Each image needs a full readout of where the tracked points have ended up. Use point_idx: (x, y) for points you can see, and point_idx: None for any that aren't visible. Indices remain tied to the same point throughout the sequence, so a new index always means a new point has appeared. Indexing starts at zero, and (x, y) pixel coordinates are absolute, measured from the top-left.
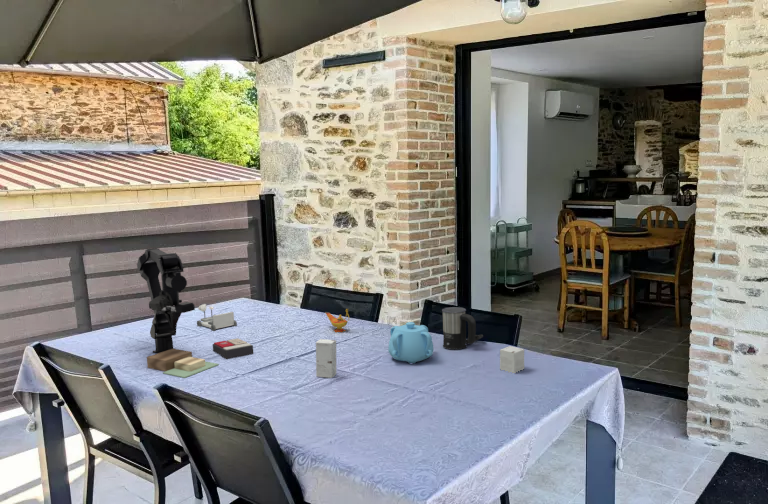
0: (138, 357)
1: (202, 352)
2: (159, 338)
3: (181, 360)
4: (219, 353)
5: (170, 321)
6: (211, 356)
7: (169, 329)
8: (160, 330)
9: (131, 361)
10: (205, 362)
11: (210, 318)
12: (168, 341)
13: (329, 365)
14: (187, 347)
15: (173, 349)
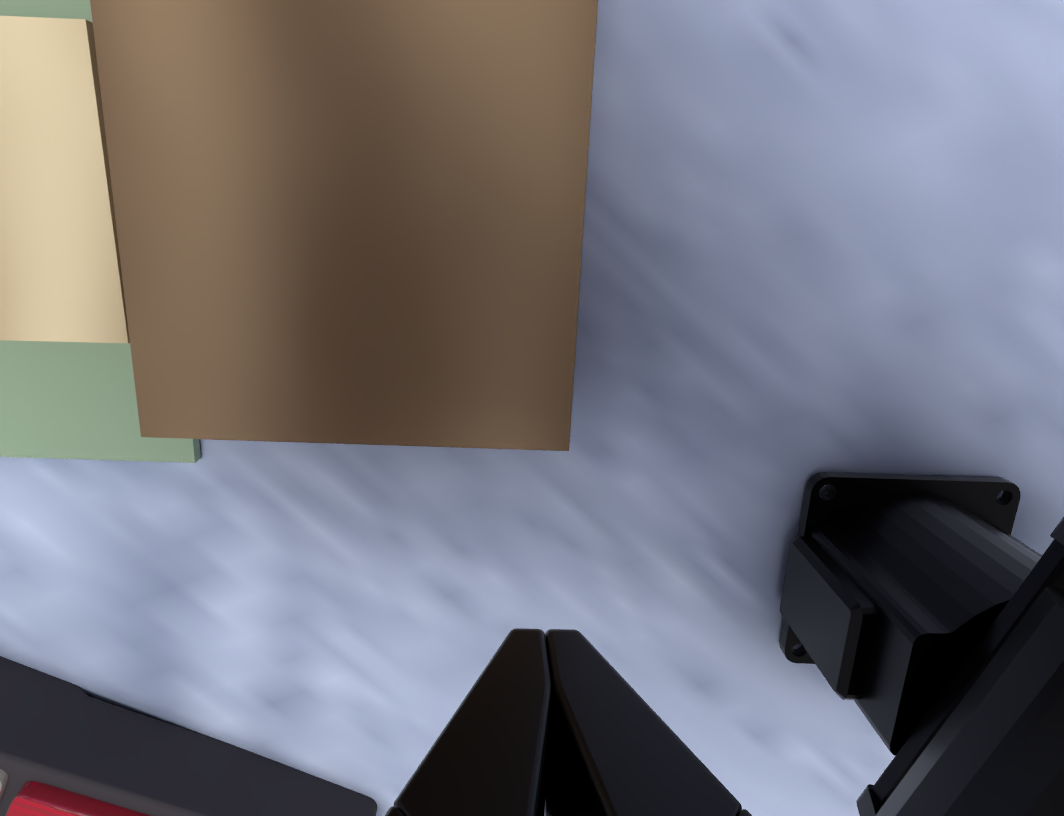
0: (1053, 257)
1: (426, 710)
2: (1013, 592)
3: (50, 135)
4: (158, 732)
5: (587, 772)
6: (202, 647)
7: (926, 788)
8: (1049, 644)
9: (1029, 77)
10: (5, 425)
11: None
12: (852, 629)
13: None
14: (737, 770)
15: (515, 412)
